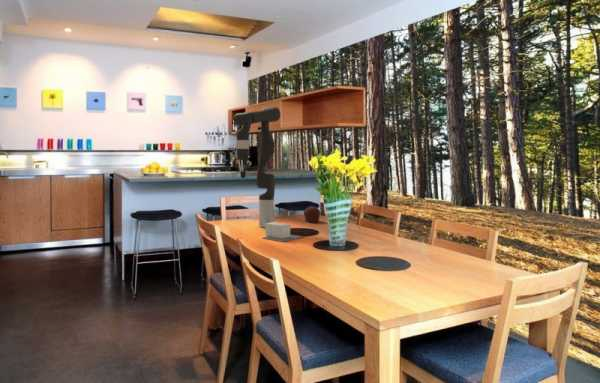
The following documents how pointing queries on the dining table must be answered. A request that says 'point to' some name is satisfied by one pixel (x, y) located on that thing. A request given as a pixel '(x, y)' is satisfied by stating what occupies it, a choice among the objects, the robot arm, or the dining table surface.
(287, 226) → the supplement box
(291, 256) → the dining table surface
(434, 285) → the dining table surface
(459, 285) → the dining table surface
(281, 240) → the mat
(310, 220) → the muffin
